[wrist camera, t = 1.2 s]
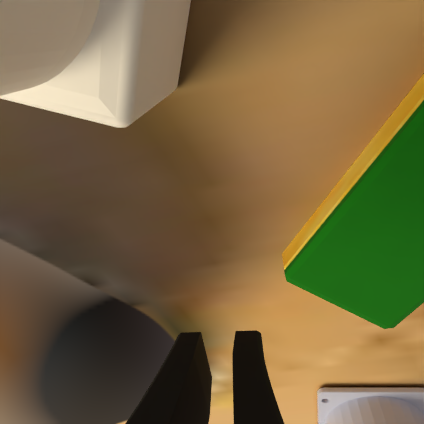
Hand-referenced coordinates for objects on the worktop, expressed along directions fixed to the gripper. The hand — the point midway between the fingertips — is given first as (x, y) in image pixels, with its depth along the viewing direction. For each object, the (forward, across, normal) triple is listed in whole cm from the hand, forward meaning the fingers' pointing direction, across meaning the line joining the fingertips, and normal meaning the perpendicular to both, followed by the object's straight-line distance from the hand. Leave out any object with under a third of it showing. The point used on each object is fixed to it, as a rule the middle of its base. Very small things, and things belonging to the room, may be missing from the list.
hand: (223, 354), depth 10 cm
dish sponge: (+10, -9, 0) cm, 14 cm away
